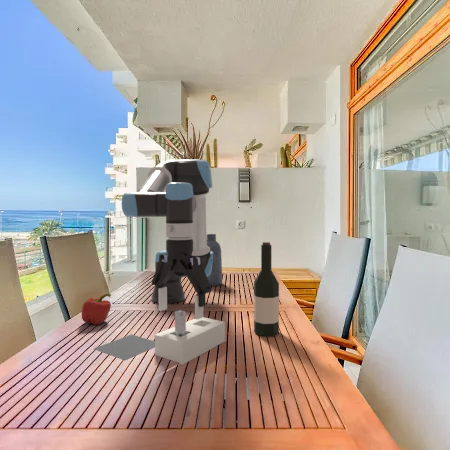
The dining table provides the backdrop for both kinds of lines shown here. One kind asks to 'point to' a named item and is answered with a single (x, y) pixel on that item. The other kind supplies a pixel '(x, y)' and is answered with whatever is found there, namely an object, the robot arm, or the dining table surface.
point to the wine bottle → (266, 297)
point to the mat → (127, 347)
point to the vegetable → (96, 310)
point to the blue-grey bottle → (215, 261)
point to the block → (190, 340)
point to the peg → (180, 323)
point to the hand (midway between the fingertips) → (180, 313)
